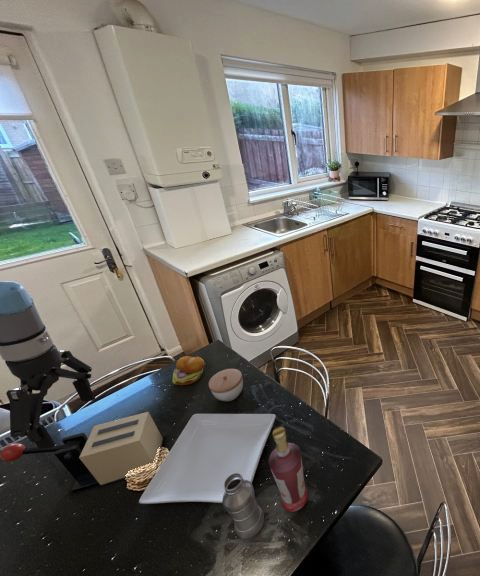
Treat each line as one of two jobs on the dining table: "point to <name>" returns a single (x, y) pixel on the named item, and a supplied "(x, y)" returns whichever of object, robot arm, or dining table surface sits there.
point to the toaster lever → (31, 450)
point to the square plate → (209, 457)
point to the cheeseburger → (188, 370)
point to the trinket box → (226, 384)
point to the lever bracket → (76, 463)
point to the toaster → (121, 447)
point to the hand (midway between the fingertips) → (69, 421)
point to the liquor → (288, 472)
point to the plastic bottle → (242, 506)
